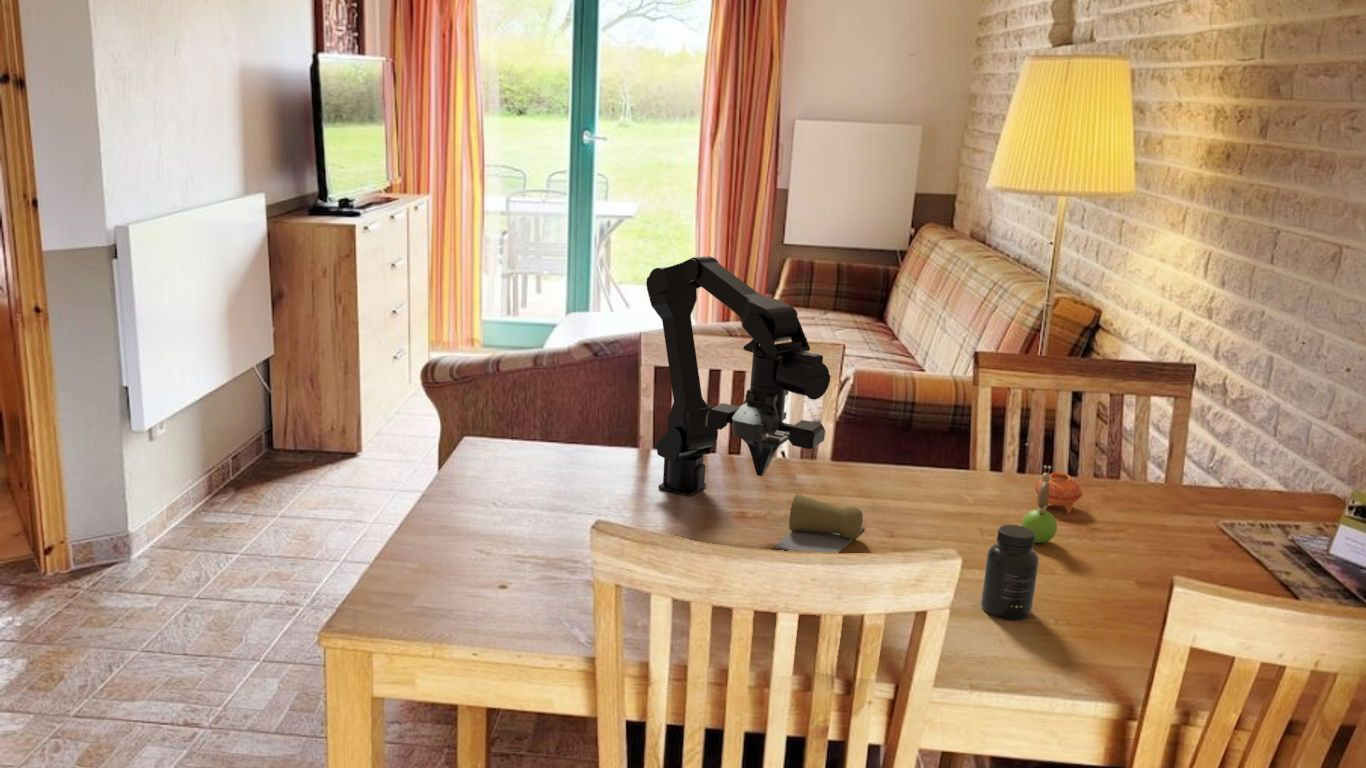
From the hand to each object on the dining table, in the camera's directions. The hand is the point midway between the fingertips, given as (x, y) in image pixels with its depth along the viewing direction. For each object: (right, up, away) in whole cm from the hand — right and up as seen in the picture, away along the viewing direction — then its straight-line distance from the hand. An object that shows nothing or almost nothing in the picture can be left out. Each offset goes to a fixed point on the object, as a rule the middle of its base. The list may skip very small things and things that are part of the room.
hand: (760, 475), depth 174 cm
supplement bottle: (+33, -17, -25) cm, 44 cm away
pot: (+54, -7, +16) cm, 57 cm away
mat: (+10, -10, -3) cm, 14 cm away
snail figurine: (+45, -11, +1) cm, 47 cm away
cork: (+5, -6, -1) cm, 8 cm away
